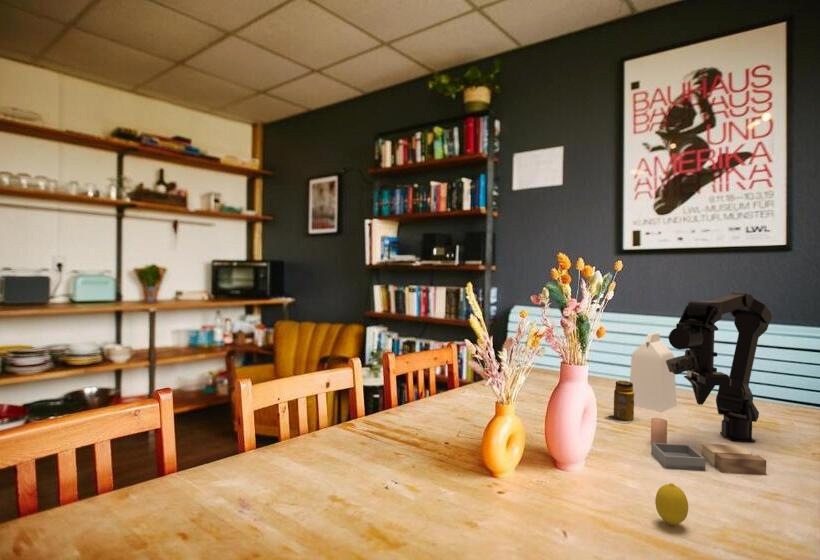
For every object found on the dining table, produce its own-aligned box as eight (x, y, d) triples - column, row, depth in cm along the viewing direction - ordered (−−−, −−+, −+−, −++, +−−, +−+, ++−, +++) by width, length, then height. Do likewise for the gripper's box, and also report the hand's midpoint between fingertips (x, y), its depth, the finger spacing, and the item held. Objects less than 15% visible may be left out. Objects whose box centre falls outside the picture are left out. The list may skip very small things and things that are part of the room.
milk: (661, 412, 164) (662, 337, 163) (628, 404, 172) (629, 333, 172) (676, 406, 171) (677, 334, 170) (644, 399, 180) (645, 330, 179)
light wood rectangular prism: (738, 460, 123) (738, 445, 123) (751, 470, 117) (752, 454, 117) (701, 458, 124) (701, 443, 124) (712, 468, 118) (712, 452, 118)
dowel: (663, 442, 135) (663, 418, 134) (669, 448, 131) (669, 422, 130) (648, 442, 135) (648, 417, 135) (653, 447, 131) (654, 422, 131)
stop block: (758, 469, 117) (758, 455, 117) (766, 474, 114) (766, 460, 114) (714, 467, 118) (715, 453, 118) (721, 472, 115) (721, 457, 115)
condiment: (639, 419, 155) (640, 383, 155) (624, 424, 151) (624, 386, 150) (619, 414, 161) (619, 378, 161) (603, 418, 157) (604, 382, 156)
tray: (688, 456, 125) (688, 444, 125) (705, 470, 116) (705, 458, 116) (651, 454, 126) (651, 442, 126) (665, 468, 117) (665, 456, 117)
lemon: (649, 518, 93) (649, 477, 93) (675, 517, 94) (676, 477, 94) (666, 533, 88) (667, 490, 88) (694, 532, 88) (695, 489, 88)
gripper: (656, 341, 139) (655, 394, 140) (686, 351, 121) (684, 413, 121) (696, 342, 138) (695, 396, 138) (733, 353, 120) (731, 415, 120)
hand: (700, 404), depth 129 cm, fingers closed
